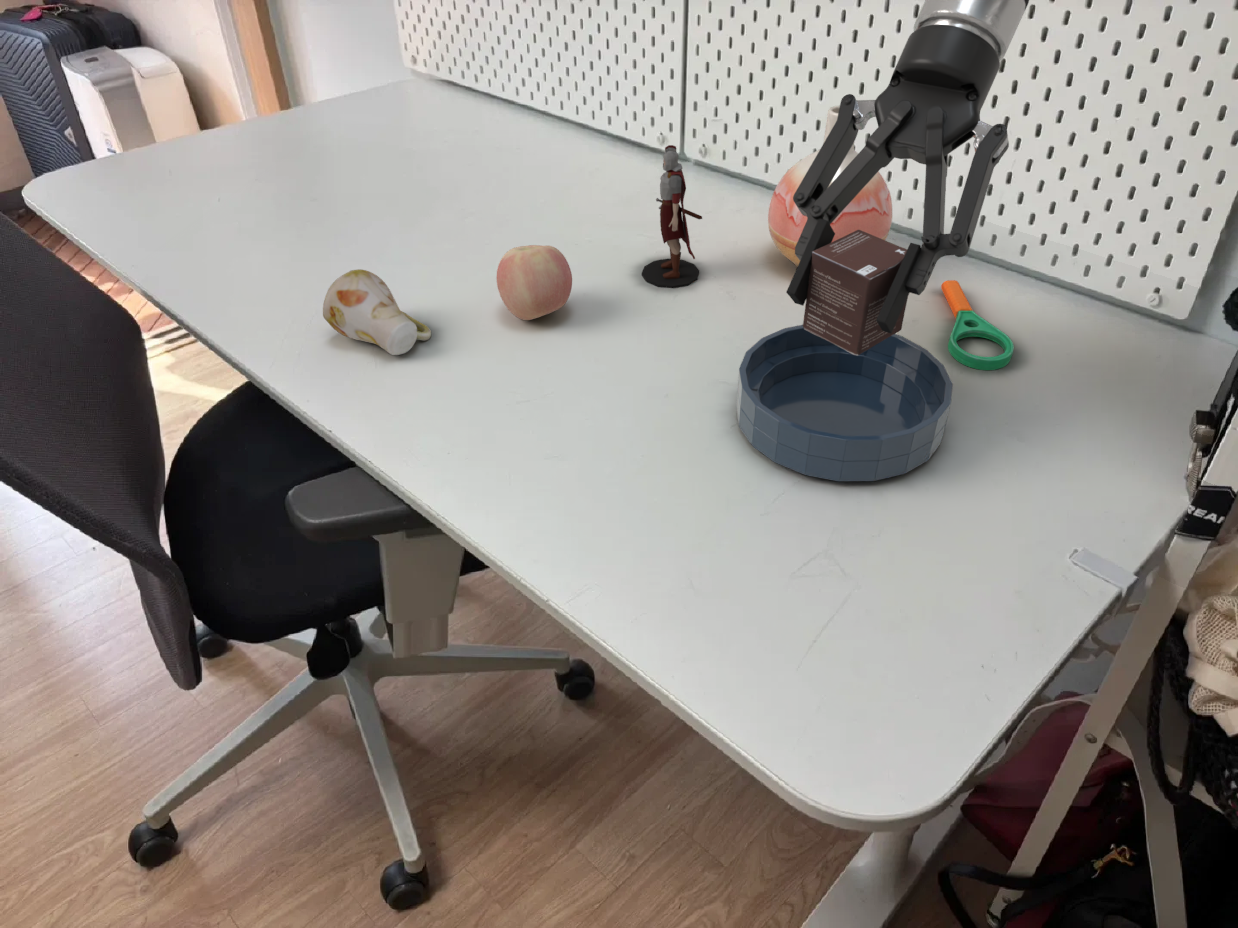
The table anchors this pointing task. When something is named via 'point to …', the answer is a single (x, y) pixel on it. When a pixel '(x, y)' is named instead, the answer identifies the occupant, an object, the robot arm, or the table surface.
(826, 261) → the box
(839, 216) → the vase
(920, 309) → the table surface
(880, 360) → the bowl
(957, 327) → the magnifying glass
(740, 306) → the table surface
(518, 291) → the apple
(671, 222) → the figurine
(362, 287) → the mug
